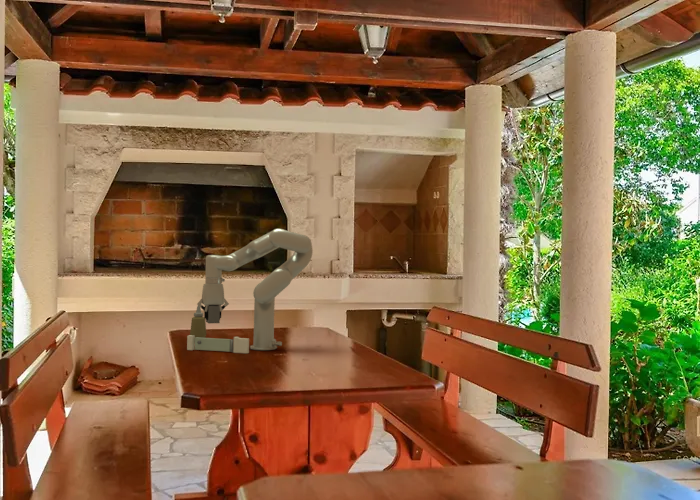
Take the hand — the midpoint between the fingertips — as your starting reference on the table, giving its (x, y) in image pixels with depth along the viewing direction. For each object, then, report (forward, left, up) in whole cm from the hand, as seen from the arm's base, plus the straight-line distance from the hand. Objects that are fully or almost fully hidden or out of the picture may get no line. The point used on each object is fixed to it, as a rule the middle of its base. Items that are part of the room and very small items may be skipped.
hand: (212, 319), depth 356 cm
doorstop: (0, 0, -2) cm, 2 cm away
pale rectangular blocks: (-6, +8, -14) cm, 17 cm away
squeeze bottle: (+15, -17, -14) cm, 27 cm away
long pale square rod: (-4, +8, -13) cm, 16 cm away
